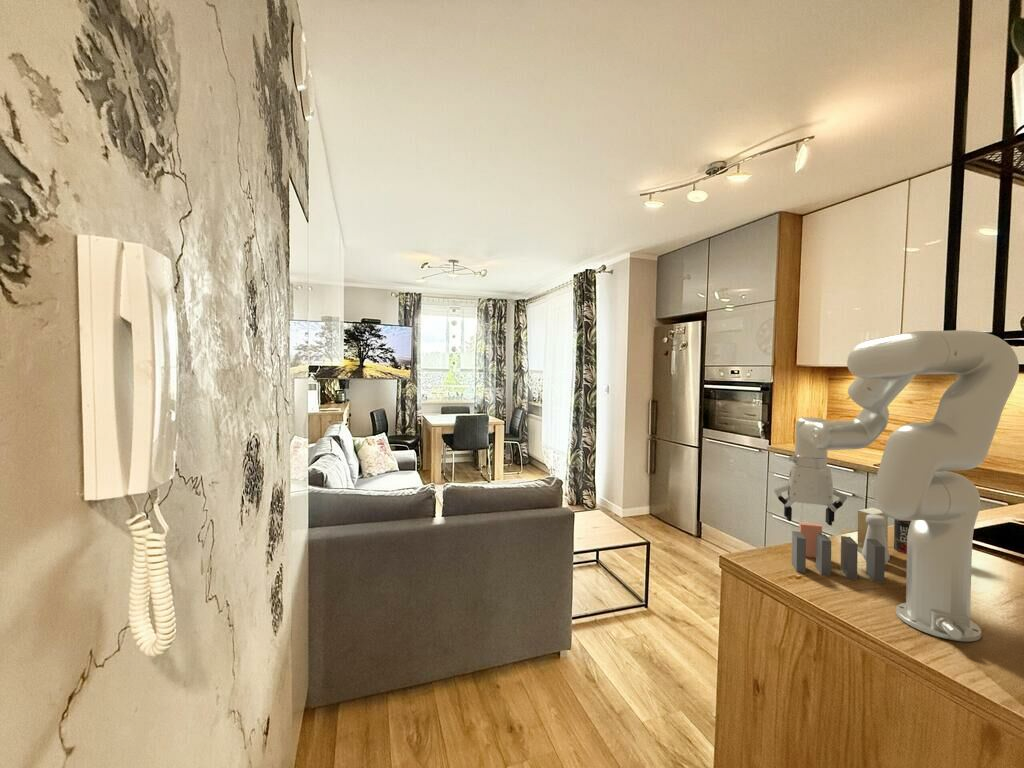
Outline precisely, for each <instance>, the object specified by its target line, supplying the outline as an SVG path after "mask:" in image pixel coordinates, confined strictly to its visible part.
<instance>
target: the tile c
mask: <svg viewBox="0 0 1024 768" xmlns="http://www.w3.org/2000/svg"><path fill="white" fill-rule="evenodd" d="M841 570H842V571H843V572H842V571H841ZM840 571H841V572H842V574H843V573H844V574H845V575H846V576H845V575H844V574H843V575H844V576H845V578H846V579H847V578H853V579H852V580H854V579H857V580H858V542H856V541H855V540H854V539H853V538H852V537H851V536H843V535H840Z"/></svg>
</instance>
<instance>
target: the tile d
mask: <svg viewBox="0 0 1024 768" xmlns="http://www.w3.org/2000/svg"><path fill="white" fill-rule="evenodd" d="M865 563H866V565H865V566H866V567H865V569H866V570H865V574H866V573H867V574H868V575H869V576H870V577H871V578H872V579H873V580H872V579H871V578H870V577H869V576H868V575H867V574H866V575H867V576H868V577H869V578H870V579H871V580H872V582H874V583H878V582H881V583H880V584H885V569H886V568H885V567H886V565H885V547H884V546H883V545H882V544H881V543H880V542H878V541H877V540H875V539H867V554H866V560H865Z"/></svg>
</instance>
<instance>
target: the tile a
mask: <svg viewBox="0 0 1024 768" xmlns="http://www.w3.org/2000/svg"><path fill="white" fill-rule="evenodd" d="M806 559H807V557H806V538H805V537H804V535H803V534H802V533H801V532H799V531H795V530H794V531H793V530H792V531H791V565H792V566H793V569H794V570H795V572H796V573H802V574H806V570H807V569H806V568H807V567H806V565H807V560H806Z"/></svg>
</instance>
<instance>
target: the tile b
mask: <svg viewBox="0 0 1024 768" xmlns="http://www.w3.org/2000/svg"><path fill="white" fill-rule="evenodd" d="M815 568H816V569H817V571H818V572H819V574H820V575H821V576H825V577H831V576H832V540H830V538H829V537H828V535H827V534H825V533H822V534H816V558H815Z"/></svg>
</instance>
